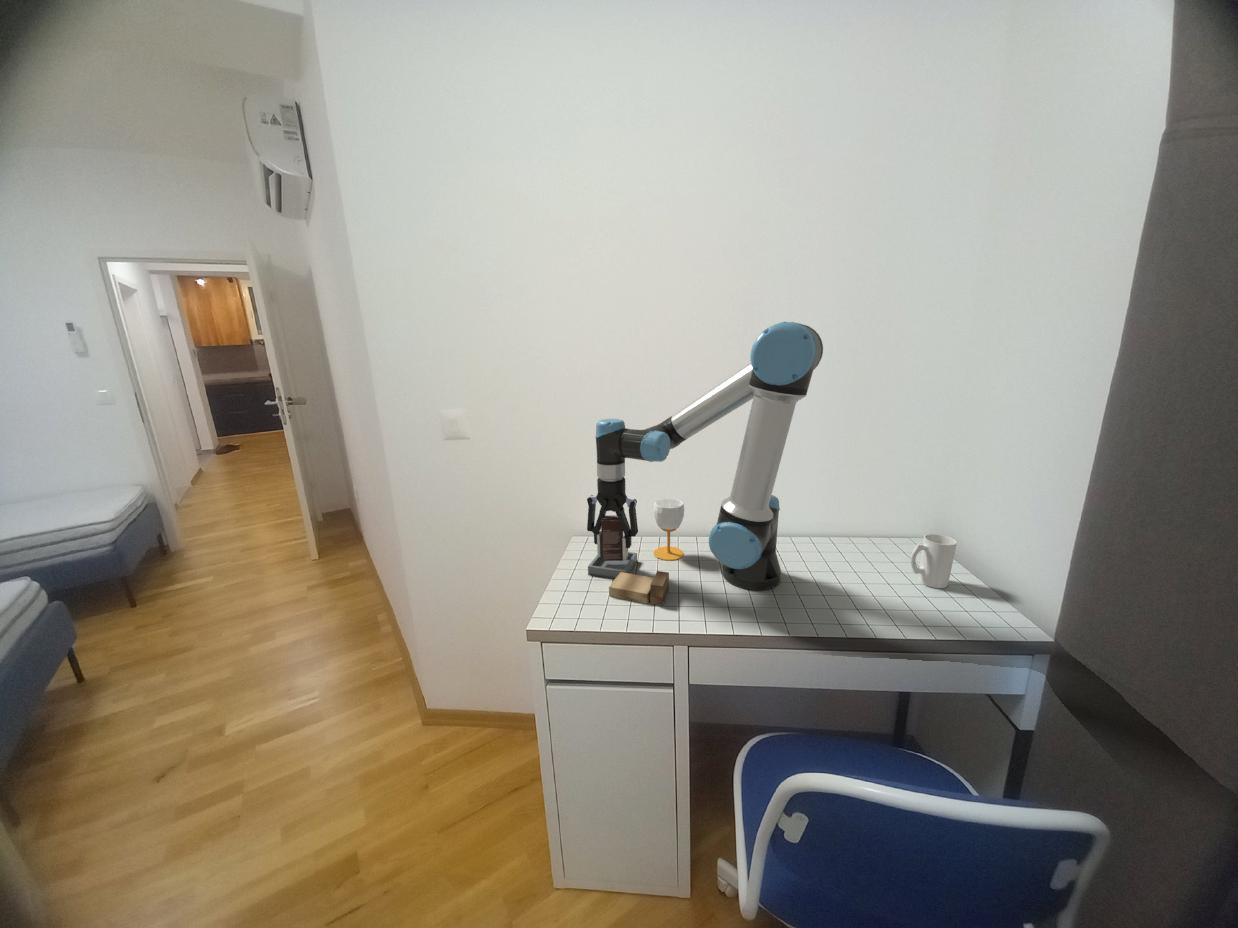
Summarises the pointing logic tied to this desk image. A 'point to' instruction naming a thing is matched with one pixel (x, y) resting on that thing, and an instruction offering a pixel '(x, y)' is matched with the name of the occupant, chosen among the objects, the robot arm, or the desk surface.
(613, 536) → the box
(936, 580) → the mug
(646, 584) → the light brown wooden block
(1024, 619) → the desk surface
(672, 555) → the cup
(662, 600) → the brown rectangular block
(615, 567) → the tray
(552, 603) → the desk surface
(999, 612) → the desk surface
